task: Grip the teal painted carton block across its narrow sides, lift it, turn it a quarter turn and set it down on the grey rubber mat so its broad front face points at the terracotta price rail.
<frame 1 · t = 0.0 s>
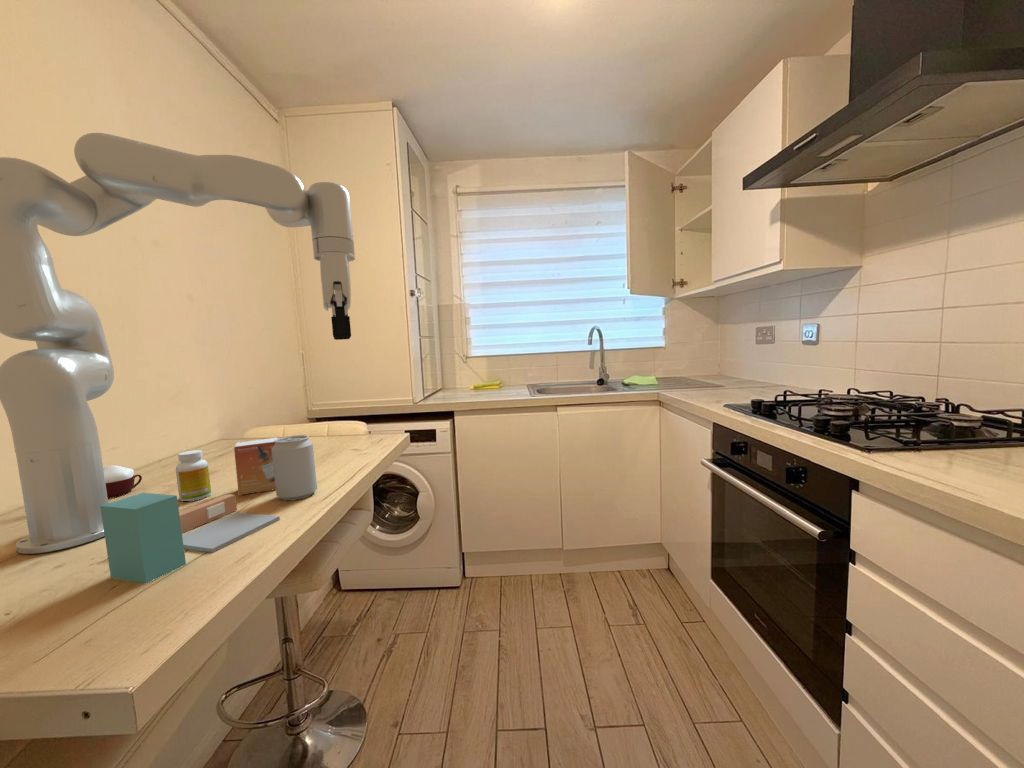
hand: (342, 338, 86), 31 cm above the counter, tool pointing down, fingers open, 9 cm apart
carton block: (149, 570, 59), on the counter
price rail: (189, 527, 73), on the counter
small box: (261, 489, 93), on the counter
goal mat: (226, 532, 70), on the counter
cocoa: (116, 495, 94), on the counter
can: (297, 496, 87), on the counter
supplement bottle: (196, 498, 89), on the counter
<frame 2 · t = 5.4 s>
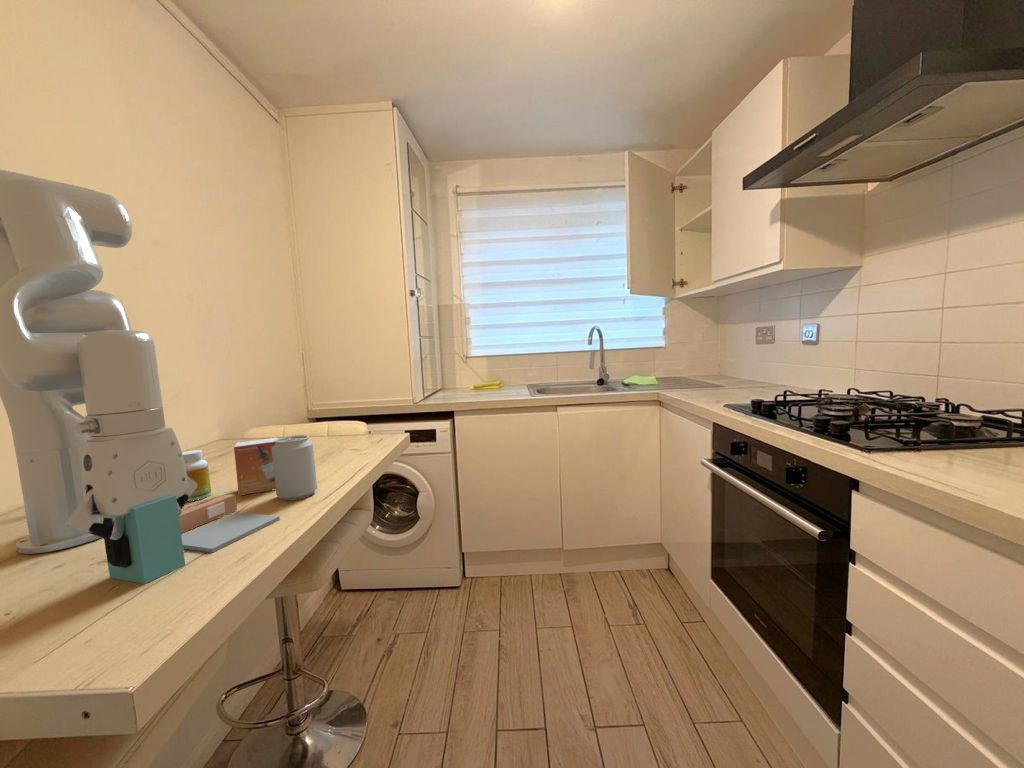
hand: (146, 553, 58), 2 cm above the counter, tool pointing down, fingers closed on carton block, 5 cm apart
carton block: (148, 571, 59), on the counter, touching gripper
everything else where it was.
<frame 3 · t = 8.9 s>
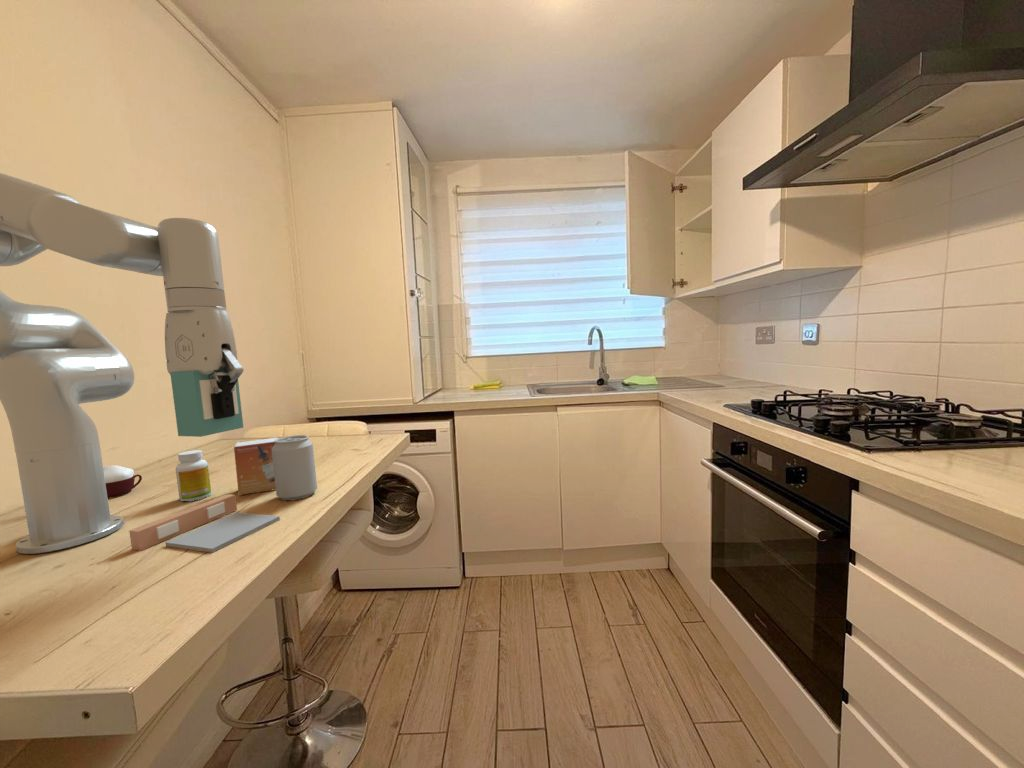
hand: (210, 416, 68), 19 cm above the counter, tool pointing down, fingers closed on carton block, 5 cm apart
carton block: (212, 431, 69), point 17 cm above the counter, touching gripper
everything else where it was.
when the fingers open (4 cm above the counter, at t = 12.5 s): carton block drops 1 cm, resting on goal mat.
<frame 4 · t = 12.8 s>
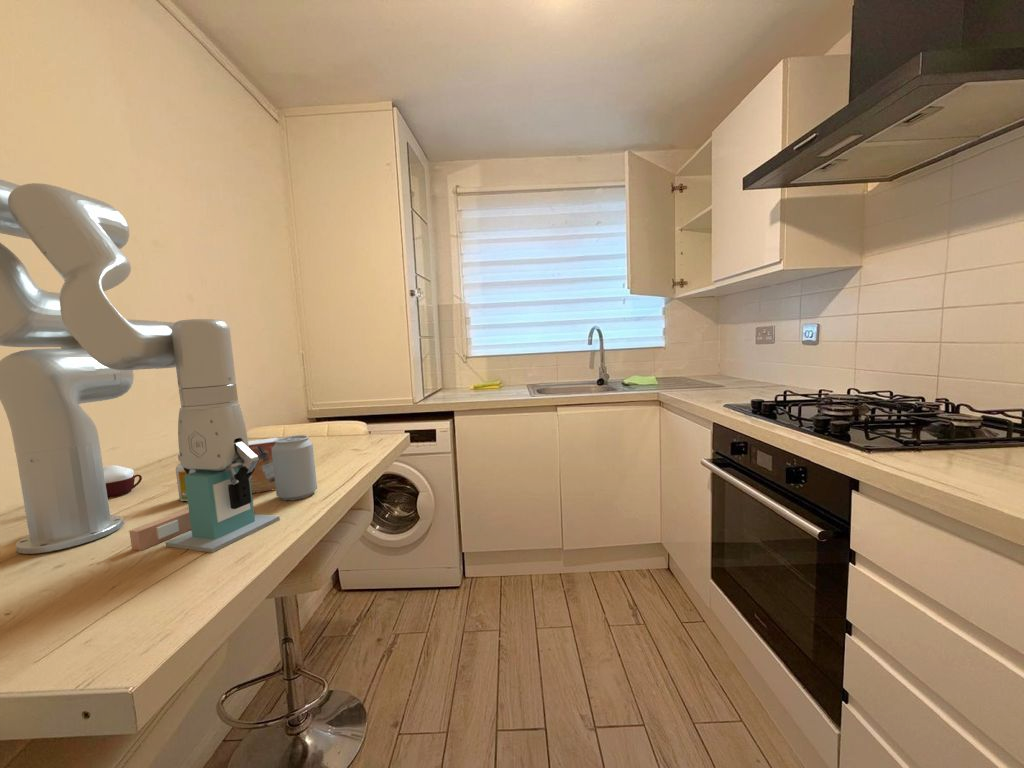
hand: (222, 503, 70), 5 cm above the counter, tool pointing down, fingers open, 7 cm apart
carton block: (224, 528, 70), point 1 cm above the counter, touching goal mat
everything else where it was.
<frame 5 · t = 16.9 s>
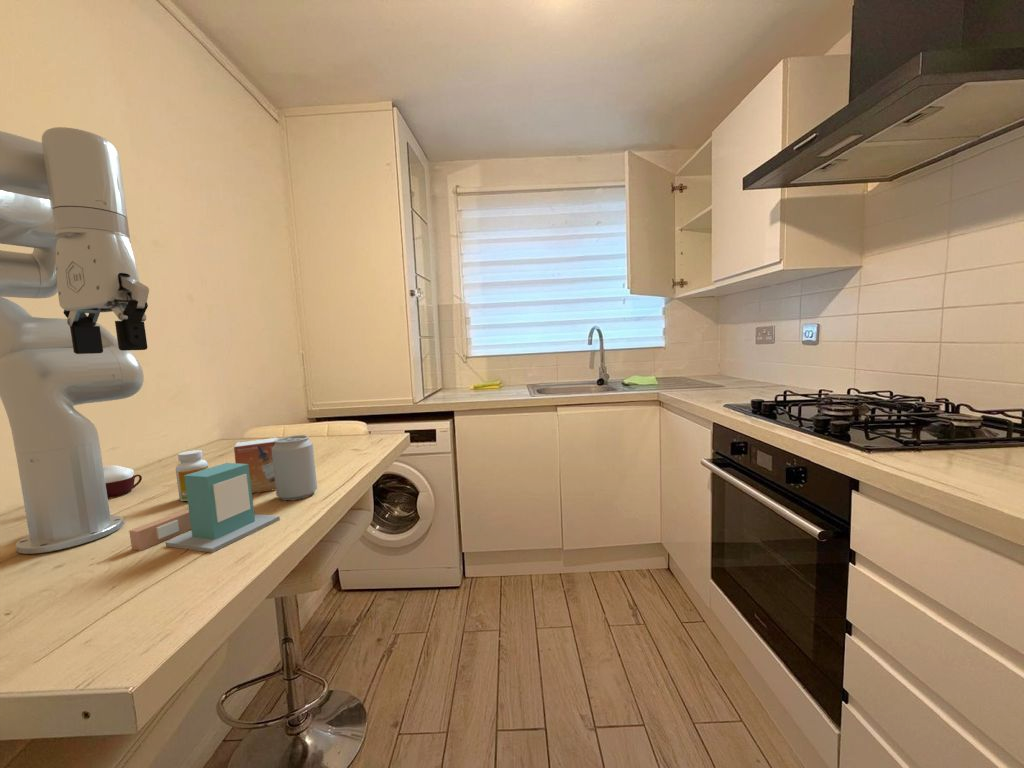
hand: (110, 351, 61), 30 cm above the counter, tool pointing down, fingers open, 9 cm apart
nothing on the counter moved.
at the end: carton block inside the target area (0.2 cm from its centre), point 0.6 cm above the counter; carton block tilted 0°; the gripper is holding nothing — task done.
